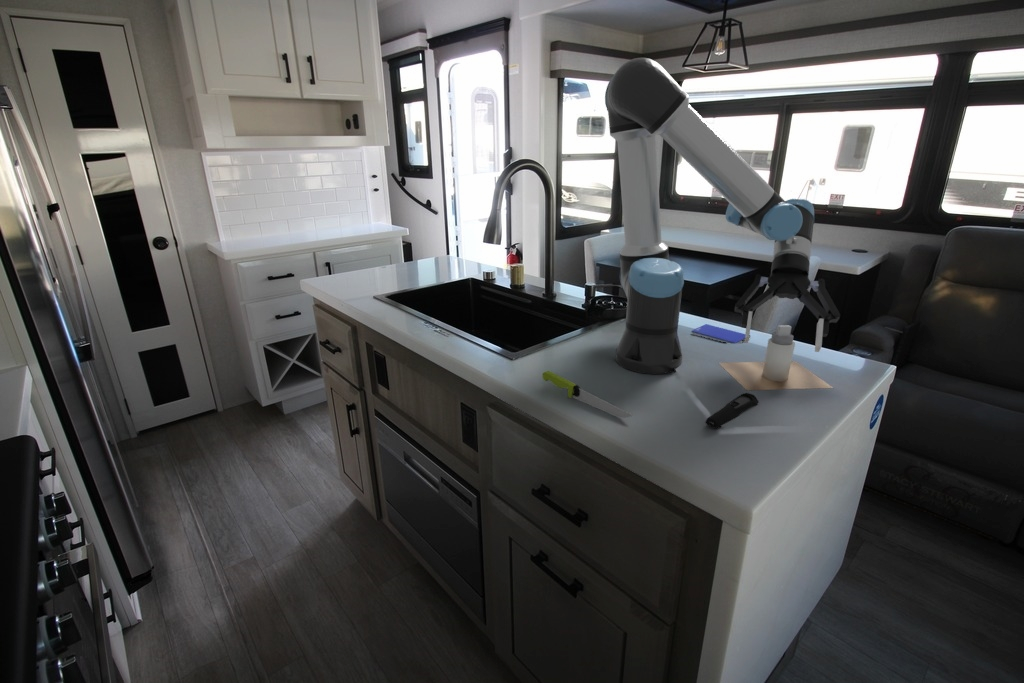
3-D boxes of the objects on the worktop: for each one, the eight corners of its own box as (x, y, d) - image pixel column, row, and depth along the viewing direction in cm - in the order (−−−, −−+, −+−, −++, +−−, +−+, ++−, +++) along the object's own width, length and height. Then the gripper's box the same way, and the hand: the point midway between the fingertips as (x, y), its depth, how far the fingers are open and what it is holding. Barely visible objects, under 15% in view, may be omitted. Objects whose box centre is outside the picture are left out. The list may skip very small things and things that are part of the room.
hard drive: (691, 330, 138) (736, 342, 129) (706, 323, 143) (750, 334, 134) (690, 335, 138) (735, 348, 129) (706, 328, 143) (749, 340, 135)
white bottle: (769, 381, 107) (778, 330, 103) (757, 372, 112) (766, 322, 108) (792, 381, 107) (803, 329, 103) (780, 371, 112) (789, 322, 108)
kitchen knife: (632, 427, 95) (634, 413, 93) (628, 429, 94) (630, 415, 93) (545, 381, 109) (546, 369, 108) (541, 383, 108) (542, 370, 107)
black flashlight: (698, 428, 93) (700, 413, 91) (741, 401, 102) (743, 387, 101) (717, 437, 90) (719, 421, 89) (760, 408, 99) (762, 393, 98)
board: (745, 394, 104) (746, 389, 104) (717, 366, 117) (718, 362, 117) (832, 392, 104) (833, 387, 104) (794, 365, 117) (795, 361, 117)
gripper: (732, 247, 117) (719, 329, 110) (860, 255, 108) (855, 345, 100) (730, 265, 124) (718, 344, 116) (850, 274, 114) (845, 360, 106)
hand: (781, 344), depth 108 cm, fingers open, 13 cm apart
